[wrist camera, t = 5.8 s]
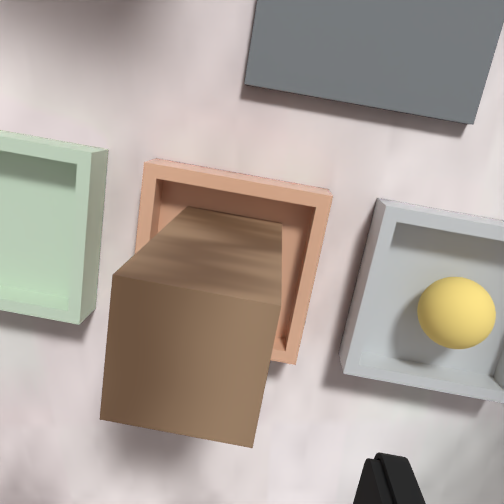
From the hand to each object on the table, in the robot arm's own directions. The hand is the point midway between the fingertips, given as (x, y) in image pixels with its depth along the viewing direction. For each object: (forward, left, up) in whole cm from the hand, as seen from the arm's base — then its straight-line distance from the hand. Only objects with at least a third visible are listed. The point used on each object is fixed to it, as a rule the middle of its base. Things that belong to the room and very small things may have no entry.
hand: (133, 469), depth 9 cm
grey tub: (-11, 0, -14) cm, 18 cm away
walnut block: (0, 0, -14) cm, 14 cm away
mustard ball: (-11, 0, -12) cm, 16 cm away
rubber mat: (-5, -13, -14) cm, 20 cm away
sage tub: (+10, 0, -14) cm, 18 cm away
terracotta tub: (0, 0, -14) cm, 14 cm away
